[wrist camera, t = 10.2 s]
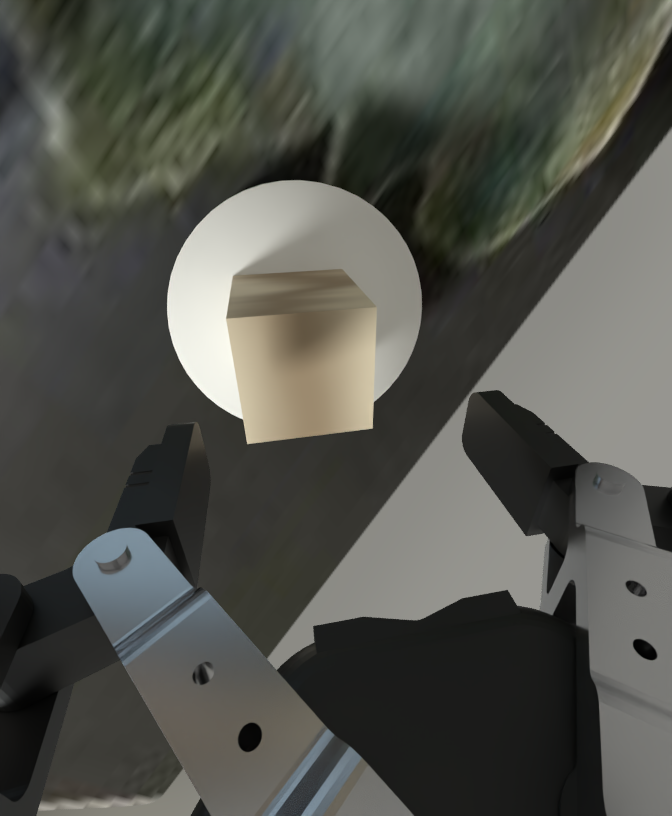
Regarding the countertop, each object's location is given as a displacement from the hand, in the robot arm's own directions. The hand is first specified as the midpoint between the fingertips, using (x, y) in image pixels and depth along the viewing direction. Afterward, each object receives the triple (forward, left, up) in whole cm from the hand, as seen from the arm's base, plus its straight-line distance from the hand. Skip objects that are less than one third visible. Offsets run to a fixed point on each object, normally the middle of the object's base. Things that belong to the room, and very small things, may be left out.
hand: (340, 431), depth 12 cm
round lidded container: (0, 0, -16) cm, 16 cm away
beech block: (+1, 0, -9) cm, 9 cm away
